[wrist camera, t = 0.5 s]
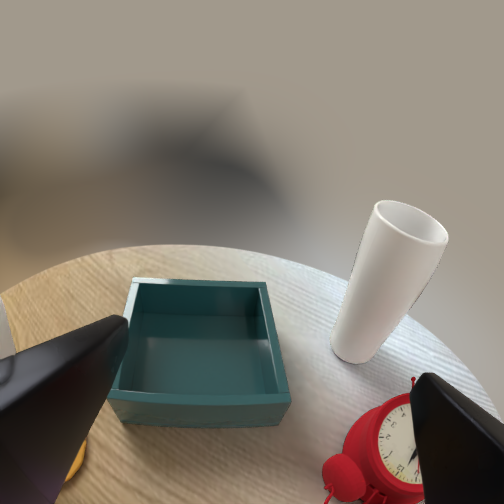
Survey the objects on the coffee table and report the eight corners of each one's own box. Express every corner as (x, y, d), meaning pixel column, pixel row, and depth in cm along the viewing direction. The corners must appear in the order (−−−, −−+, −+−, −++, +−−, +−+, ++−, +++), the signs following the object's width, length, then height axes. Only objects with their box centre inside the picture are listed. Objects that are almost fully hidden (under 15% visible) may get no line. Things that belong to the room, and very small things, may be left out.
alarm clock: (482, 418, 17) (438, 552, 7) (439, 454, 20) (375, 570, 9) (405, 360, 23) (317, 469, 12) (370, 402, 26) (276, 498, 15)
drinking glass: (310, 353, 28) (365, 217, 19) (333, 313, 33) (380, 191, 24) (370, 382, 25) (452, 257, 17) (386, 338, 30) (448, 222, 22)
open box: (278, 425, 21) (292, 401, 19) (120, 422, 19) (105, 397, 16) (258, 314, 31) (265, 281, 29) (138, 310, 29) (132, 276, 27)
